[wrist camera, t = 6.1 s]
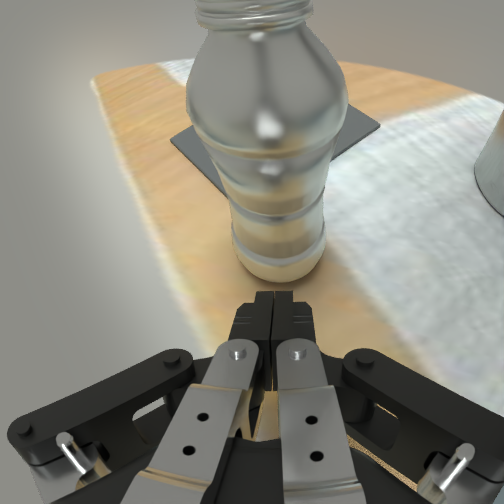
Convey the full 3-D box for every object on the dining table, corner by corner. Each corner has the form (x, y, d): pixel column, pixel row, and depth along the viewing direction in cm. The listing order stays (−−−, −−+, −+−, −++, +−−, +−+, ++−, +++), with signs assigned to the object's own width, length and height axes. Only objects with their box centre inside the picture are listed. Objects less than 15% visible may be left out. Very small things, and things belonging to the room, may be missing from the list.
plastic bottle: (262, 205, 26) (217, -42, 8) (336, 236, 24) (375, -34, 6) (222, 268, 24) (100, 9, 6) (301, 306, 22) (313, -4, 4)
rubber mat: (291, 75, 35) (291, 73, 35) (379, 127, 29) (380, 124, 29) (170, 141, 32) (169, 139, 31) (248, 219, 26) (248, 217, 25)
